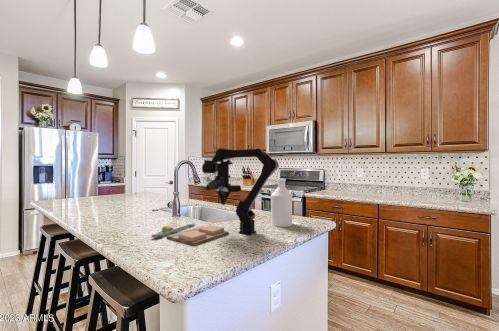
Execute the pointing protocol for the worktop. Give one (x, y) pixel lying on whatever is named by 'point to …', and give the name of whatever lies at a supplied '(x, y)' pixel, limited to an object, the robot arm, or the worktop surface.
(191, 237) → the tile
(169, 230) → the flamethrower
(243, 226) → the robot arm
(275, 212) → the bottle
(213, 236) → the board
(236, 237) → the worktop surface
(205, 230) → the tile
